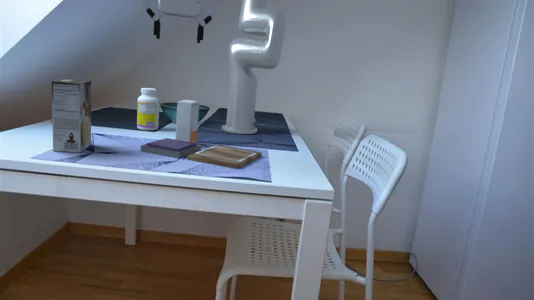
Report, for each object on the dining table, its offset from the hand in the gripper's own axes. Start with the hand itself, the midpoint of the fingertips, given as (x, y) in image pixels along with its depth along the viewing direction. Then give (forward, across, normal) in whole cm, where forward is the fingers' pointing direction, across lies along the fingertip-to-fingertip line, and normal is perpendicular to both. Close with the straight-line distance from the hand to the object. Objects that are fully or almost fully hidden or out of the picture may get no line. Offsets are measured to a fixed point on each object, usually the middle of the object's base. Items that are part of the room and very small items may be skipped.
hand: (178, 41), depth 100 cm
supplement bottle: (+28, +8, -29) cm, 41 cm away
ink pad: (+28, 0, 0) cm, 28 cm away
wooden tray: (+28, -13, +5) cm, 31 cm away
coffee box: (+28, +24, +2) cm, 36 cm away
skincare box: (+28, -4, -10) cm, 30 cm away
